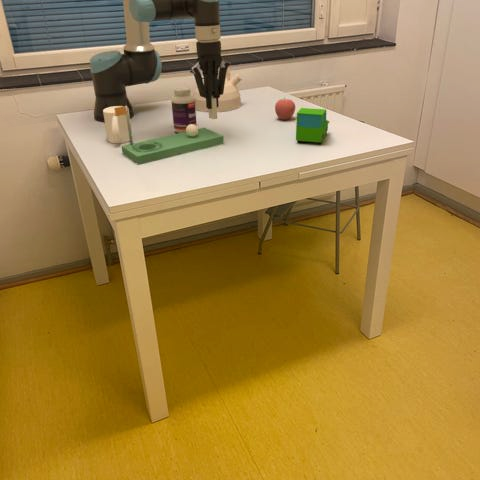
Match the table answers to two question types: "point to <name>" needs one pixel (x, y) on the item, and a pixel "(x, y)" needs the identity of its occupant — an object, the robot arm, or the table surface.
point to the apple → (285, 108)
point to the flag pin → (124, 111)
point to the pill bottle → (183, 109)
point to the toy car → (311, 125)
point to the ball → (191, 130)
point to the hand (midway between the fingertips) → (213, 118)
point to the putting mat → (170, 145)
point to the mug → (116, 126)
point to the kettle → (227, 100)
